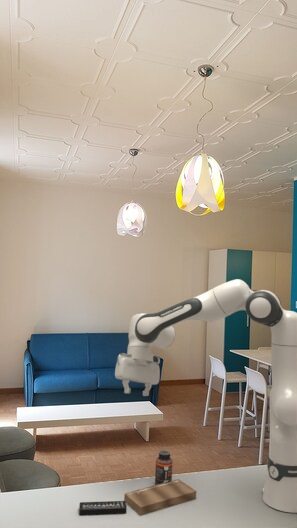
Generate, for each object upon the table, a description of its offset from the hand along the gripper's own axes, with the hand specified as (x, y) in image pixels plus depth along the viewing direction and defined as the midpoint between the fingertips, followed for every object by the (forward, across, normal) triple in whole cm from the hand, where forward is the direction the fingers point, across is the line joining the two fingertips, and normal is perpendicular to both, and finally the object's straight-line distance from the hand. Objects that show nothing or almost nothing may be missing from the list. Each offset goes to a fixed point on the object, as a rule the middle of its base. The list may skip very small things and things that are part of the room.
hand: (136, 394), depth 165 cm
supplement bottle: (+30, +13, -3) cm, 33 cm away
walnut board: (+33, +4, -10) cm, 35 cm away
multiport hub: (+37, -14, -2) cm, 40 cm away
